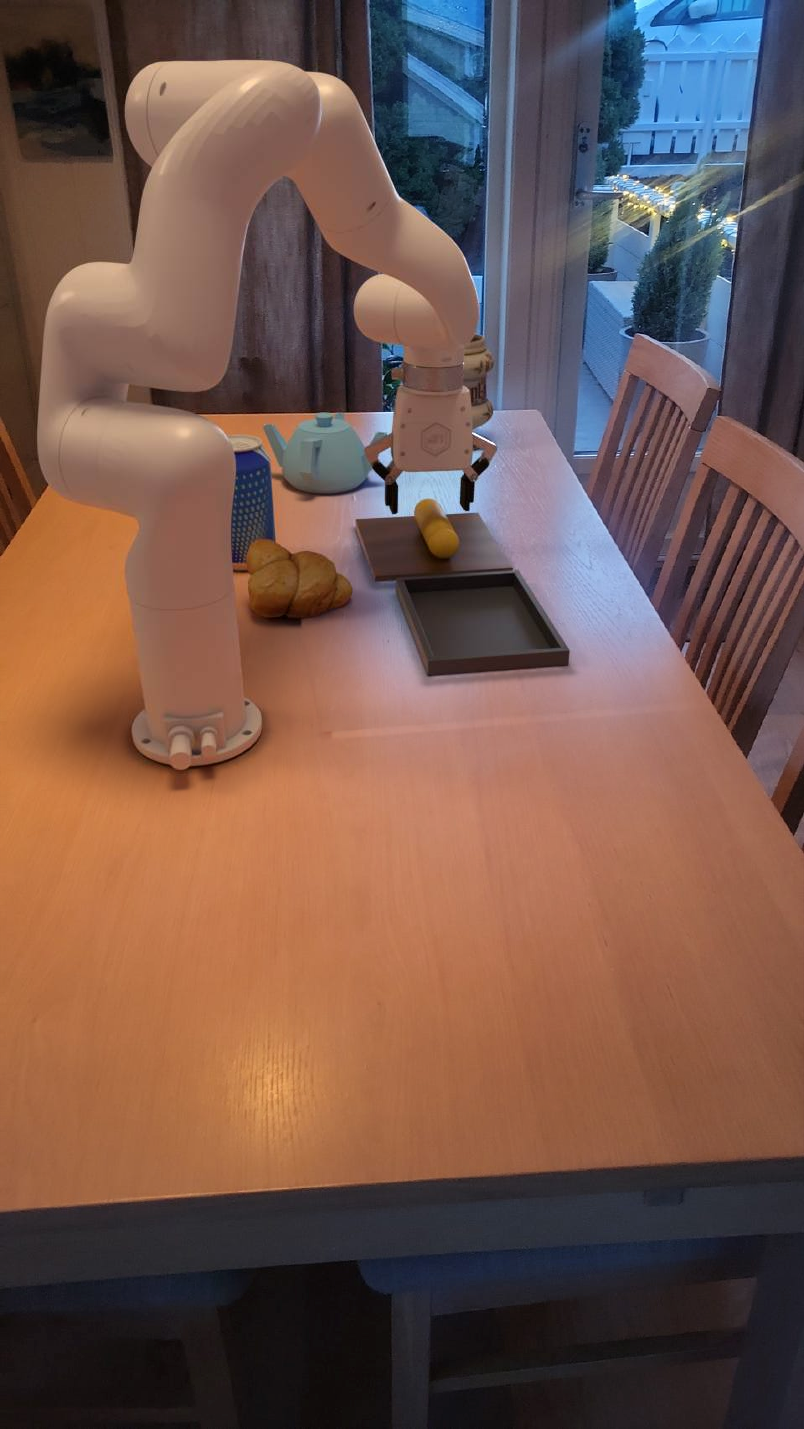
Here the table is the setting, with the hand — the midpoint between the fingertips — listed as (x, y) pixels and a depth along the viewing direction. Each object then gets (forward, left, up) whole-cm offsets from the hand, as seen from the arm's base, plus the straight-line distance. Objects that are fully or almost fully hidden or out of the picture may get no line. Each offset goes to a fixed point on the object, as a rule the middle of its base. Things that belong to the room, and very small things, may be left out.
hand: (429, 509), depth 136 cm
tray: (-24, -1, -6) cm, 24 cm away
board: (0, 0, -6) cm, 6 cm away
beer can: (+1, +25, -7) cm, 26 cm away
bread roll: (-15, +19, -7) cm, 25 cm away
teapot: (+31, +11, -7) cm, 34 cm away
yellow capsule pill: (+1, 0, -5) cm, 5 cm away
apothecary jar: (+48, -14, -7) cm, 51 cm away
